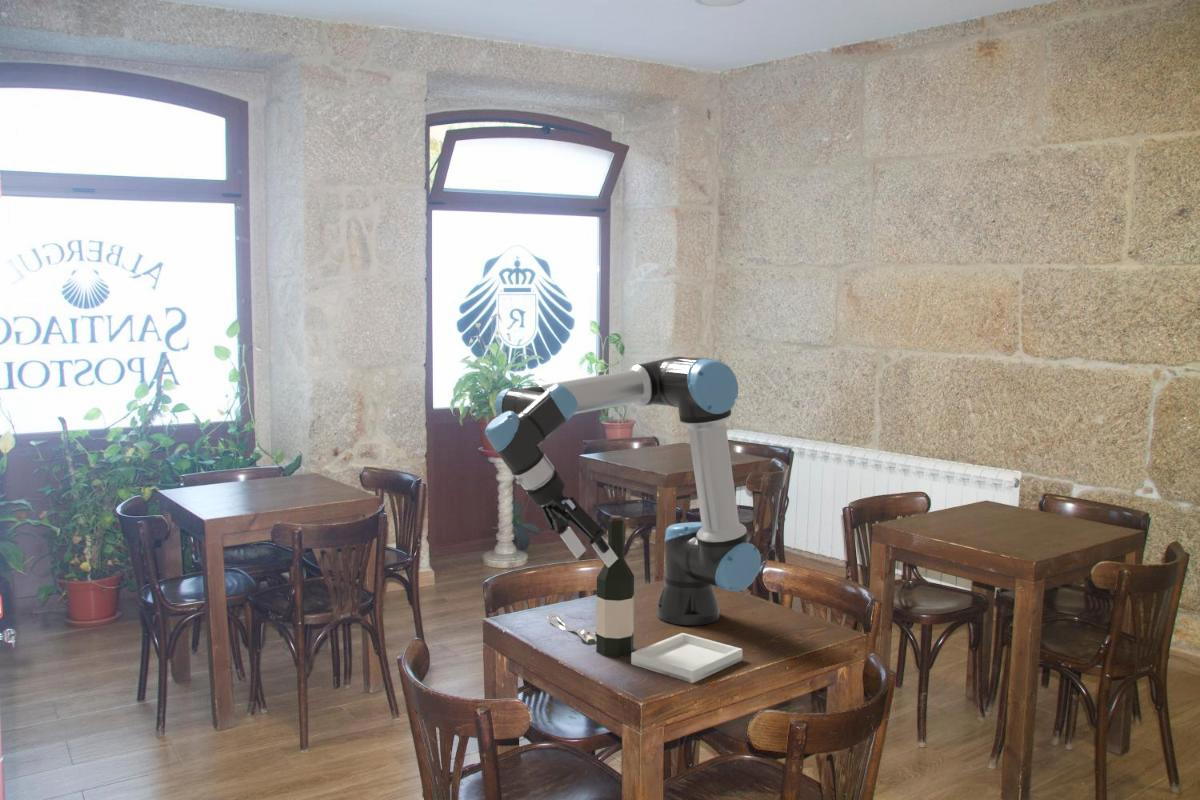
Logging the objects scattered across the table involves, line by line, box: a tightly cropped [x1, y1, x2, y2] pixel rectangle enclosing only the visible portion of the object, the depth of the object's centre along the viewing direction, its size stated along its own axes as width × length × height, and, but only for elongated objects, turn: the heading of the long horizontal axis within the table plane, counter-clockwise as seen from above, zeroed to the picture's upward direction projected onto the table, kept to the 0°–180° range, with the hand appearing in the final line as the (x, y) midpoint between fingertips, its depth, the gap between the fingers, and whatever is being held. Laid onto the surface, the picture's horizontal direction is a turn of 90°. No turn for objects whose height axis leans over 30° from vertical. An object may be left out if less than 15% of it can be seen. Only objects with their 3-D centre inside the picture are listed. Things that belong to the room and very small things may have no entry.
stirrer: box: [547, 613, 597, 645], centre depth 236 cm, size 20×4×5 cm
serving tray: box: [630, 632, 743, 684], centre depth 216 cm, size 18×16×2 cm
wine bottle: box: [595, 514, 635, 658], centre depth 222 cm, size 8×8×30 cm
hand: (596, 558), depth 212 cm, fingers open, 13 cm apart
